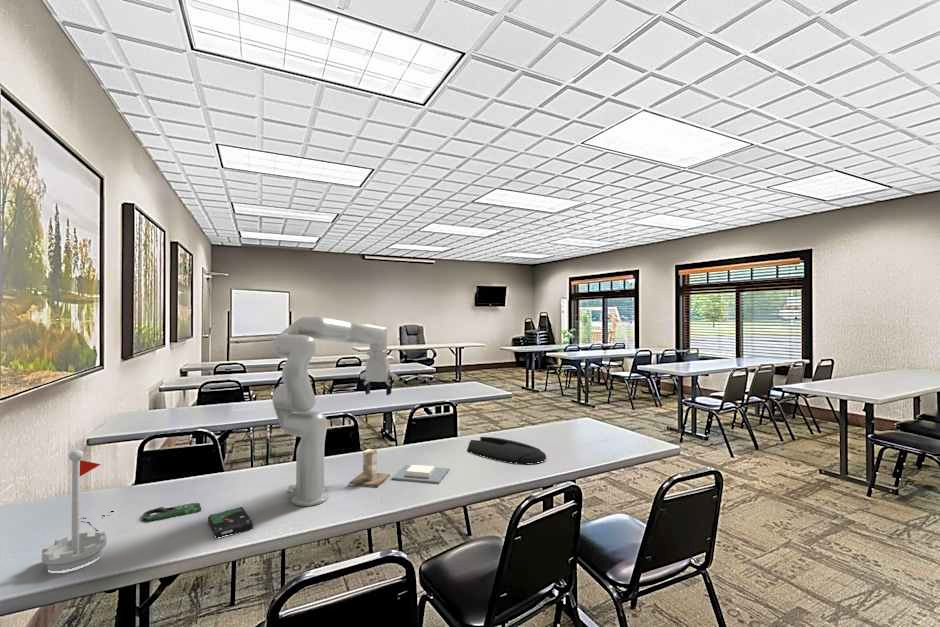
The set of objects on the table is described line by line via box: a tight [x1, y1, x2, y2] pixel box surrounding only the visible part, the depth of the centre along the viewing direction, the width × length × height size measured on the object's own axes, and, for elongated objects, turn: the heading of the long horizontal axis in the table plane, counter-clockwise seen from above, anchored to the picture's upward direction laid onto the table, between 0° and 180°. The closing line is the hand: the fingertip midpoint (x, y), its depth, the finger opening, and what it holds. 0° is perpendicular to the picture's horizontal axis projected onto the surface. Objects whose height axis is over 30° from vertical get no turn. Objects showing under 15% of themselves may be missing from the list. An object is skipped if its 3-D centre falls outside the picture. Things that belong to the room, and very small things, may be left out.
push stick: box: [362, 448, 378, 480], centre depth 180 cm, size 4×4×11 cm
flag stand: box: [41, 449, 108, 571], centre depth 120 cm, size 13×13×30 cm
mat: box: [391, 464, 451, 485], centre depth 187 cm, size 20×16×1 cm
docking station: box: [467, 436, 547, 464], centre depth 217 cm, size 25×40×5 cm, turn 50°
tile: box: [406, 464, 436, 478], centre depth 185 cm, size 10×2×8 cm
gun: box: [141, 502, 202, 523], centre depth 150 cm, size 16×2×10 cm
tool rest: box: [348, 471, 391, 488], centre depth 180 cm, size 12×12×1 cm
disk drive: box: [207, 506, 254, 539], centre depth 141 cm, size 10×3×15 cm
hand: (378, 394), depth 194 cm, fingers open, 9 cm apart
